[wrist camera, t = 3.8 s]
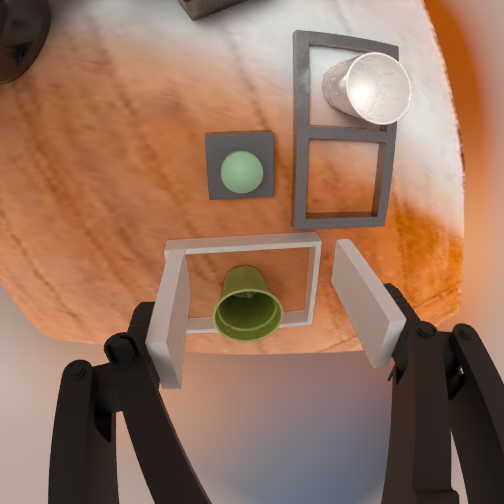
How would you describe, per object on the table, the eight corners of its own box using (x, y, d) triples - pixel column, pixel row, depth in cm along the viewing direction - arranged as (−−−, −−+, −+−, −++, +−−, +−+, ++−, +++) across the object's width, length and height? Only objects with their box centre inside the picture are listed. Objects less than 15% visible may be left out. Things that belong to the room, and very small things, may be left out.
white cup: (364, 122, 36) (402, 134, 28) (311, 106, 35) (338, 112, 26) (376, 70, 33) (417, 69, 24) (323, 51, 31) (354, 41, 23)
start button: (222, 182, 38) (222, 194, 33) (220, 147, 35) (220, 154, 31) (258, 180, 38) (263, 192, 34) (258, 145, 36) (263, 152, 31)
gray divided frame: (291, 223, 43) (294, 229, 41) (292, 33, 30) (296, 30, 28) (378, 220, 44) (384, 226, 42) (391, 47, 31) (398, 46, 29)
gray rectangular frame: (182, 321, 50) (181, 333, 48) (167, 240, 43) (163, 250, 40) (307, 313, 52) (311, 324, 49) (316, 231, 44) (321, 241, 41)
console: (210, 192, 40) (209, 199, 37) (206, 132, 36) (205, 136, 33) (270, 189, 40) (273, 196, 38) (270, 130, 36) (273, 133, 34)
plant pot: (227, 245, 44) (228, 280, 36) (284, 266, 46) (296, 301, 39) (205, 294, 48) (202, 332, 40) (258, 310, 50) (264, 348, 43)
